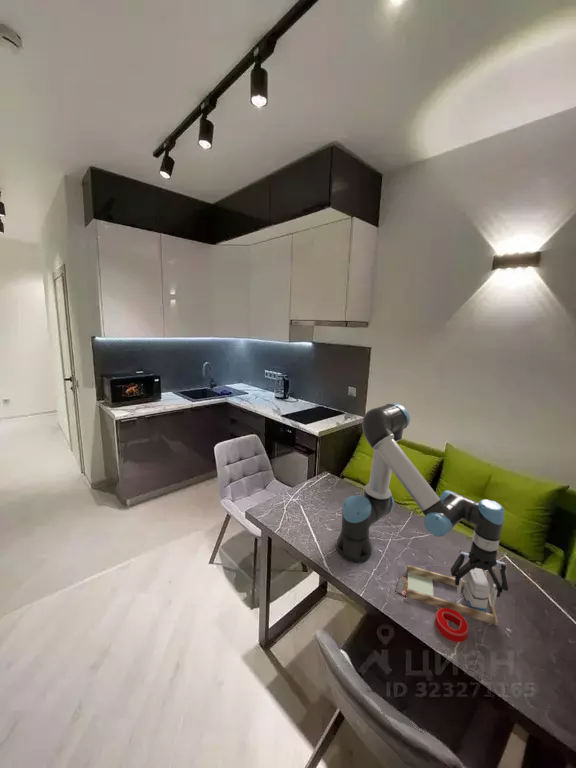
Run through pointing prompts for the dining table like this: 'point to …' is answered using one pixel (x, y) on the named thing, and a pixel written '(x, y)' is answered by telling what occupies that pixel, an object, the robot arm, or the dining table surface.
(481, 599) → the ink box
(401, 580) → the chocolate bar
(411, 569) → the bay
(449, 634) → the decorative ornament
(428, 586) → the front pad
